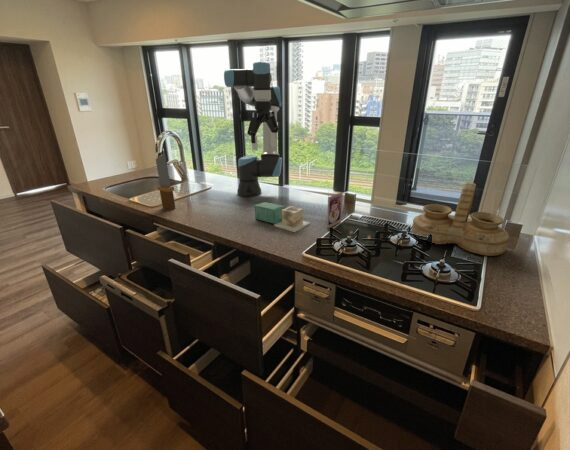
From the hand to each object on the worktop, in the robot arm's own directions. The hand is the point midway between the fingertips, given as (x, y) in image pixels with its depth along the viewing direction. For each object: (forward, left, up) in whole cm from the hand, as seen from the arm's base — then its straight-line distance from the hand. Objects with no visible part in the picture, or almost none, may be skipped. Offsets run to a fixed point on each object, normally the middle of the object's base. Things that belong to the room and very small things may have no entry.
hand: (264, 148), depth 144 cm
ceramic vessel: (-19, +85, -34) cm, 94 cm away
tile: (+6, +21, -33) cm, 40 cm away
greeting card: (-6, +34, -33) cm, 48 cm away
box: (+8, +9, -33) cm, 35 cm away
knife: (+27, -48, -33) cm, 64 cm away
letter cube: (+6, +21, -32) cm, 39 cm away
